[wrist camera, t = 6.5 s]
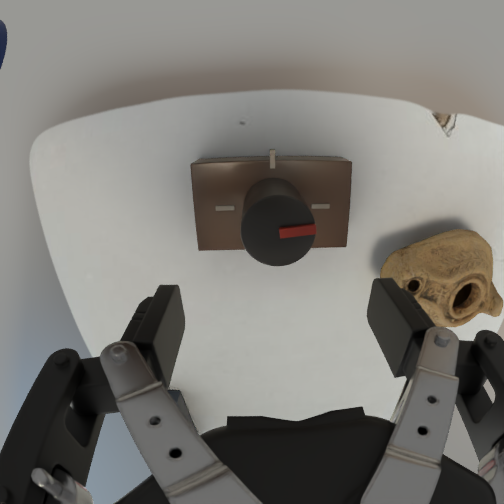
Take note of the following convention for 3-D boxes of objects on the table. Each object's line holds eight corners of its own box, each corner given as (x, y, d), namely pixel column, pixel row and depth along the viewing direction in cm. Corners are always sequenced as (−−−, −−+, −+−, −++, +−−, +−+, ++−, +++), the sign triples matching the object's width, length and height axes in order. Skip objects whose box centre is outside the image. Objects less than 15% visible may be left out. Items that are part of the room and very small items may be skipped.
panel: (204, 245, 27) (198, 260, 24) (197, 149, 23) (188, 153, 20) (336, 242, 26) (346, 257, 24) (341, 147, 23) (353, 151, 20)
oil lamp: (374, 215, 25) (414, 251, 18) (485, 221, 25) (531, 250, 18) (357, 314, 30) (381, 366, 23) (462, 304, 30) (494, 343, 22)
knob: (248, 237, 23) (246, 272, 18) (239, 181, 21) (234, 201, 16) (304, 230, 23) (318, 263, 18) (299, 174, 21) (314, 192, 16)
